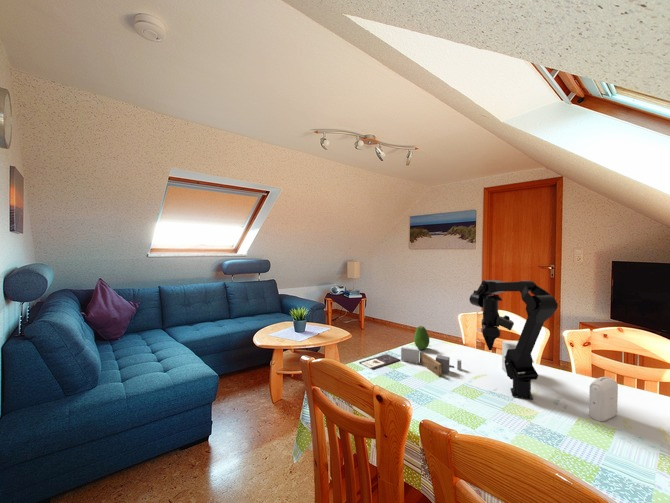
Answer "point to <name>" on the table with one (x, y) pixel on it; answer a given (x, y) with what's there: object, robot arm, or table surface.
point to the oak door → (430, 363)
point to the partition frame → (417, 356)
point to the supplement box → (505, 347)
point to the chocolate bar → (379, 361)
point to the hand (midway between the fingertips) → (489, 346)
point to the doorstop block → (443, 363)
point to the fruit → (421, 338)
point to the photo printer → (603, 398)
